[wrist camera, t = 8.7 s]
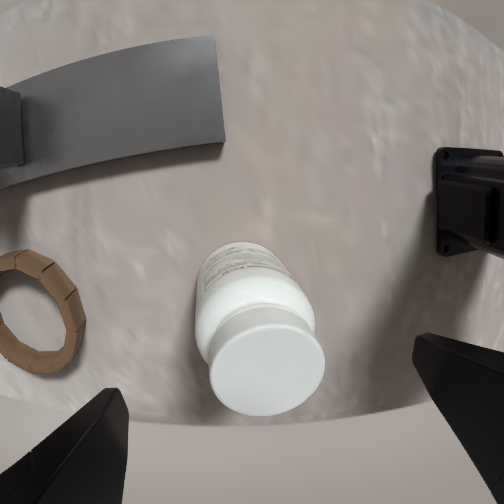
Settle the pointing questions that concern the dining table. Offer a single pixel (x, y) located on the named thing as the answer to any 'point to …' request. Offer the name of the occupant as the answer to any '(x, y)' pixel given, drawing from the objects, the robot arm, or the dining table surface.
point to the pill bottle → (256, 332)
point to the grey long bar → (10, 129)
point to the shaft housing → (119, 107)
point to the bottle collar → (68, 304)
